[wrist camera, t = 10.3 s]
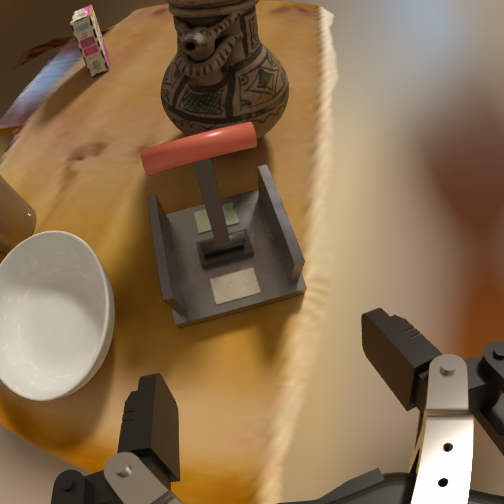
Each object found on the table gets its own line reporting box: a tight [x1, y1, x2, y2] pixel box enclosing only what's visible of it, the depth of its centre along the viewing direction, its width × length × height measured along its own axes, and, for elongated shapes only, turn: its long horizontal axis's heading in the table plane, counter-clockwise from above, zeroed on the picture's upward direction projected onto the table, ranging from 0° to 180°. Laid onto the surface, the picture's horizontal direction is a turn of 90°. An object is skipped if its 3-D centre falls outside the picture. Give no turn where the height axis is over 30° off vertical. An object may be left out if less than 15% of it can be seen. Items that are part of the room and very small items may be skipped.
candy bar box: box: [70, 5, 109, 77], centre depth 52 cm, size 11×5×16 cm, turn 22°
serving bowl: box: [0, 231, 115, 401], centre depth 32 cm, size 21×21×7 cm
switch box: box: [147, 164, 307, 328], centre depth 35 cm, size 14×15×8 cm
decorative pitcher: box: [161, 0, 289, 139], centre depth 36 cm, size 22×18×25 cm
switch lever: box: [141, 122, 257, 254], centre depth 30 cm, size 2×10×13 cm, turn 106°
